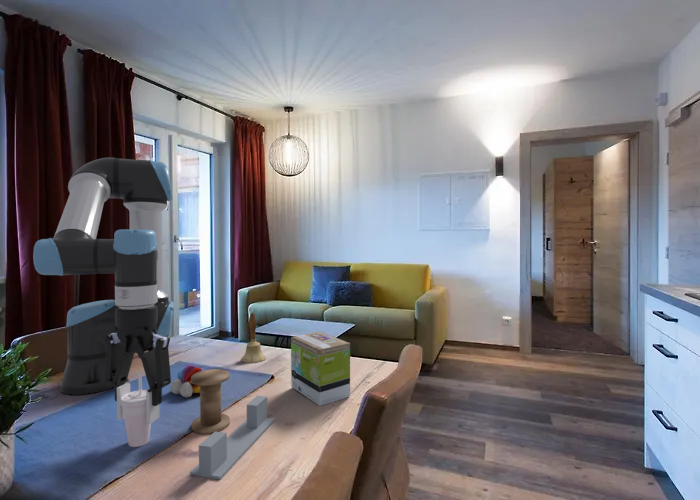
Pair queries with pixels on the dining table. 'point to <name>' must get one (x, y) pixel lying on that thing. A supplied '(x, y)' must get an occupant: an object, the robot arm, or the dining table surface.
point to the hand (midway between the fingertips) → (138, 418)
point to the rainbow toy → (185, 382)
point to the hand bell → (253, 345)
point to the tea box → (320, 367)
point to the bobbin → (210, 401)
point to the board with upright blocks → (232, 442)
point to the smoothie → (136, 416)
